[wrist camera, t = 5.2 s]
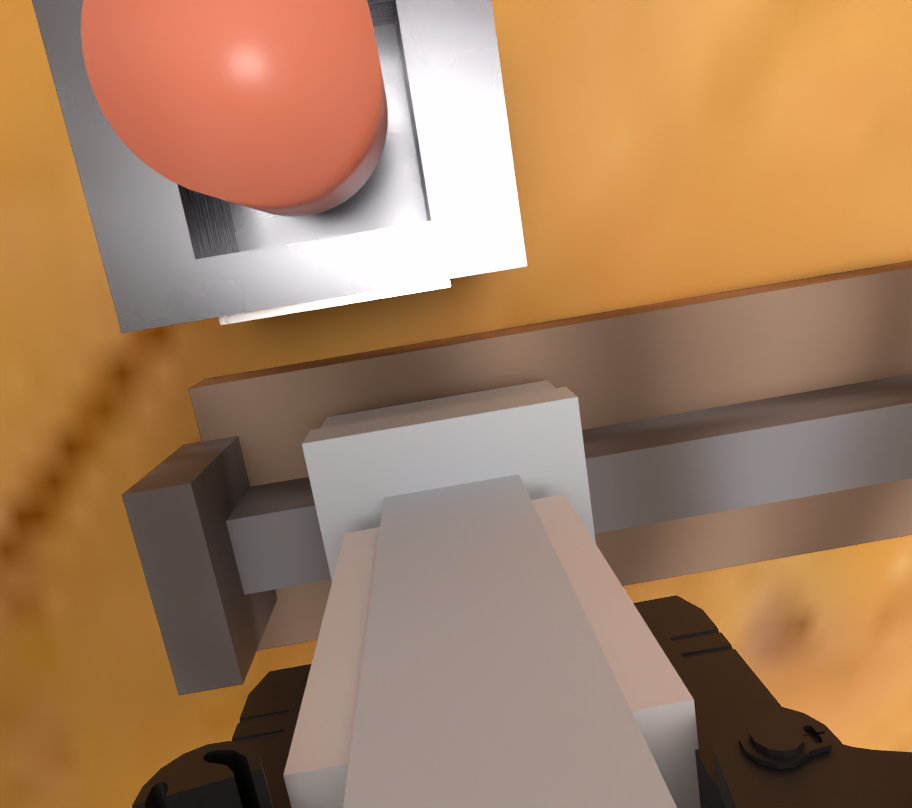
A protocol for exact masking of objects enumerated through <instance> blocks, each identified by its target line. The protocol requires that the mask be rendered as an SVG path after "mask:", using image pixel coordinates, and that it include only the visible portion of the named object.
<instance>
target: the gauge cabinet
mask: <svg viewBox="0 0 912 808" xmlns="http://www.w3.org/2000/svg"><path fill="white" fill-rule="evenodd" d="M32 3H33V6H34V10H35V14H36V17H37V21H38V25H39V28H40V32H41V36H42V40H43V43H44V47H45V51H46V54H47V58H48V62H49V65H50V69H51V73H52V77H53V80H54V84H55V88H56V91H57V95H58V99H59V102H60V106H61V110H62V114H63V117H64V121H65V125H66V128H67V132H68V136H69V139H70V143H71V147H72V151H73V154H74V158H75V162H76V165H77V169H78V173H79V176H80V180H81V184H82V188H83V191H84V195H85V199H86V202H87V206H88V210H89V213H90V217H91V221H92V225H93V228H94V232H95V236H96V239H97V243H98V247H99V250H100V254H101V258H102V262H103V265H104V269H105V273H106V276H107V280H108V284H109V287H110V291H111V295H112V299H113V302H114V306H115V310H116V313H117V317H118V321H119V324H120V328H121V332H122V333H125V332H132V331H138V330H144V329H150V328H156V327H162V326H168V325H174V324H180V323H186V322H192V321H198V320H204V319H210V318H216V317H219V321H220V325H225V324H231V323H237V322H243V321H249V320H255V319H261V318H267V317H273V316H279V315H285V314H291V313H297V312H303V311H309V310H315V309H321V308H328V307H334V306H340V305H346V304H352V303H358V302H364V301H370V300H376V299H382V298H388V297H394V296H400V295H406V294H412V293H418V292H424V291H430V290H436V289H442V288H448V287H451V284H450V279H452V278H458V277H464V276H470V275H477V274H483V273H489V272H495V271H501V270H507V269H513V268H519V267H525V266H527V261H526V254H525V246H524V239H523V231H522V224H521V216H520V209H519V202H518V194H517V187H516V179H515V172H514V164H513V157H512V149H511V142H510V134H509V127H508V119H507V112H506V105H505V97H504V90H503V82H502V75H501V67H500V60H499V52H498V45H497V37H496V30H495V23H494V15H493V8H492V0H367V3H368V6H369V10H370V14H371V18H372V23H373V27H374V32H375V38H376V43H377V49H378V54H379V60H380V65H381V71H382V76H383V81H384V87H385V92H386V98H387V106H388V129H387V136H386V141H385V145H384V149H383V152H382V155H381V157H380V159H379V162H378V164H377V166H376V168H375V169H374V171H373V173H372V175H371V176H370V177H369V179H368V180H367V181H366V183H365V184H364V185H363V186H362V187H361V188H360V189H359V190H358V191H357V192H356V193H355V194H354V195H353V196H352V197H350V198H349V199H348V200H346V201H345V202H343V203H342V204H340V205H338V206H336V207H334V208H332V209H330V210H327V211H324V212H322V213H318V214H314V215H309V216H299V217H291V216H280V215H274V214H269V213H266V212H263V211H259V210H256V209H253V208H249V207H246V206H242V205H239V204H236V203H232V202H229V201H226V200H222V199H219V198H216V197H212V196H209V195H206V194H202V193H199V192H196V191H193V190H190V189H187V188H185V187H183V186H181V185H179V184H176V183H174V182H172V181H170V180H169V179H167V178H165V177H164V176H162V175H161V174H159V173H157V172H156V171H154V170H153V169H152V168H151V167H149V166H148V165H147V164H145V163H144V162H143V161H142V160H140V159H139V158H138V157H137V156H136V155H135V154H134V153H133V152H132V151H131V150H130V149H129V148H128V147H127V146H126V145H125V143H124V142H123V141H122V140H121V138H120V137H119V136H118V135H117V133H116V132H115V131H114V129H113V128H112V127H111V125H110V123H109V122H108V120H107V118H106V117H105V115H104V113H103V112H102V110H101V108H100V106H99V104H98V101H97V99H96V97H95V95H94V93H93V90H92V87H91V84H90V81H89V78H88V75H87V72H86V67H85V62H84V57H83V52H82V40H81V16H82V5H83V0H32Z"/></svg>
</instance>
